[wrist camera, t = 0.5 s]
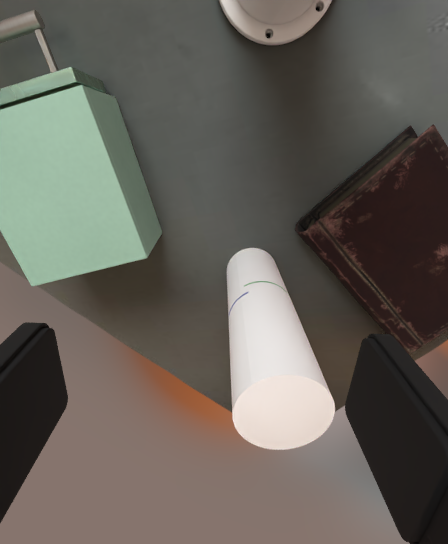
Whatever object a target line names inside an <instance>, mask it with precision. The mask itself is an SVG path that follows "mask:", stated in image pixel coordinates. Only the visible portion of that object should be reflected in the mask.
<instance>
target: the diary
mask: <svg viewBox="0 0 448 544" xmlns="http://www.w3.org/2000/svg"><path fill="white" fill-rule="evenodd" d="M295 231H296V232H297V233H298V234H299V236H300V237H301V238H302V239H303V240H304V241H305V242H306V243H307V244H308V245H309V246H310V248H311V249H312V250H313V251H314V252H315V253H316V254H317V255H318V256H319V257H320V259H321V260H322V261H323V262H324V263H325V264H326V265H327V266H328V267H329V268H330V270H331V271H332V272H333V273H334V274H335V275H336V277H337V278H338V279H339V280H340V281H341V283H342V284H343V285H344V286H345V287H346V288H347V290H348V291H349V292H350V293H351V294H352V296H353V297H354V298H355V299H356V300H357V301H358V302H359V303H360V304H361V305H362V307H363V308H364V309H365V310H366V311H367V312H368V313H369V314H370V315H371V316H372V317H373V318H374V319H375V321H376V322H377V323H378V324H379V325H380V326H381V327H382V329H383V330H384V331H385V332H386V334H389V335H392V336H393V337H394V338H395V339H396V340H397V341H398V343H399V344H400V345H401V346H402V347H403V348H404V350H405V351H406V352H407V353H412V352H414V351H415V350H417V349H418V348H420V347H421V346H422V345H424V344H426V343H428V342H429V341H431V340H432V339H434V338H436V337H437V336H439V335H441V334H442V333H444V332H446V331H447V330H448V147H447V145H446V144H445V142H444V140H443V139H442V137H441V136H440V134H439V132H438V131H437V129H436V127H435V126H434V124H433V125H432V126H431V127H430V128H428V129H427V130H426V131H425V132H424V133H422V134H421V135H420V136H419V137H418V136H417V135H416V133H415V131H414V130H413V128H412V127H411V126H409V127H408V128H407V129H406V130H405V131H404V132H402V133H401V134H400V135H399V136H398V137H397V138H395V139H394V140H393V141H392V142H391V143H390V144H388V145H387V146H386V147H385V148H384V149H383V150H381V151H380V152H379V153H378V154H377V155H376V156H374V157H373V158H372V159H371V160H370V161H369V162H367V163H366V164H365V165H364V166H363V167H362V168H360V169H359V170H358V171H357V172H356V173H355V174H353V175H352V176H351V177H350V178H349V179H348V180H346V181H345V182H344V183H343V184H342V185H341V186H339V187H338V188H337V189H336V190H335V191H334V192H332V193H331V194H330V195H329V196H328V197H327V198H325V199H324V200H323V201H322V202H321V203H320V204H318V205H317V206H316V207H315V208H314V209H313V210H311V211H310V212H309V214H307V215H306V216H304V217H303V218H302V219H301V220H300V221H299V222H298V223H297V224H296V228H295Z"/></svg>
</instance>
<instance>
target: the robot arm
mask: <svg viewBox="0 0 448 544" xmlns="http://www.w3.org/2000/svg"><path fill="white" fill-rule="evenodd" d="M331 1H332V0H219V2H220V5H221V7H222V10H223V12H224V14H225V15H226V17H227V18H228V20H229V22H230V23H231V24H232V25H233V26H234V27H235V29H236V30H237V31H238V32H239V33H241V34H242V35H243V36H245V37H246V38H248V39H250V40H252V41H254V42H256V43H259V44H264V45H282V44H285V43H289V42H292V41H294V40H296V39H298V38H300V37H302V36H303V35H304V34H306V33H307V32H308V31H309V30H311V29H312V28H313V27H314V25H315V24H316V23H317V22H318V21H319V20H320V19H321V17H322V16H323V15H324V14H325V12H326V11H327V9H328V7H329V5H330V3H331ZM316 7H319V12H318V11H316ZM267 33H268V34H270V38H267V37H266V34H267ZM67 402H68V395H67V390H66V385H65V380H64V375H63V371H62V366H61V361H60V356H59V351H58V346H57V341H56V336H55V332H54V330H53V329H52V328H49V326H48V325H47V324H46V323H23V324H22V325H21V326H19V327H18V328H17V330H15V331H14V332H13V333H12V334H11V335H10V336H9V337H8V338H7V339H6V340H5V341H4V342H3V343H2V344H1V345H0V523H1V521H2V519H3V517H4V516H5V514H6V512H7V510H8V509H9V507H10V505H11V503H12V502H13V500H14V498H15V496H16V495H17V493H18V491H19V489H20V488H21V486H22V484H23V482H24V480H25V479H26V477H27V475H28V474H29V472H30V470H31V468H32V466H33V465H34V463H35V461H36V460H37V458H38V456H39V454H40V453H41V451H42V449H43V447H44V445H45V444H46V442H47V440H48V438H49V437H50V435H51V433H52V431H53V430H54V428H55V426H56V424H57V423H58V421H59V419H60V417H61V416H62V414H63V412H64V410H65V408H66V405H67ZM345 411H346V415H347V418H348V420H349V422H350V424H351V427H352V429H353V431H354V433H355V435H356V438H357V439H358V442H359V444H360V447H361V449H362V451H363V453H364V455H365V458H366V460H367V462H368V464H369V467H370V469H371V471H372V473H373V475H374V478H375V480H376V482H377V484H378V487H379V489H380V491H381V493H382V496H383V498H384V500H385V502H386V505H387V507H388V509H389V511H390V513H391V516H392V518H393V520H394V522H395V525H396V527H397V529H398V531H399V533H400V535H401V537H402V538H403V539H404V540H405V541H406V542H409V543H410V544H448V400H447V399H446V397H445V396H444V395H443V394H442V393H441V391H440V390H439V389H438V388H437V387H436V386H435V385H434V383H433V382H432V381H431V380H430V379H429V377H428V376H427V375H426V374H425V373H424V372H423V371H422V369H421V368H420V367H419V366H418V365H417V364H416V363H415V361H414V360H413V359H412V358H411V357H410V355H409V354H408V353H407V352H406V351H405V350H404V348H403V347H402V346H401V345H400V344H399V343H398V341H397V340H396V339H395V338H394V337H393V336H392V335H389V334H370V335H369V336H368V338H365V339H363V341H362V343H361V347H360V351H359V355H358V358H357V362H356V366H355V370H354V373H353V377H352V381H351V385H350V388H349V392H348V396H347V400H346V404H345Z"/></svg>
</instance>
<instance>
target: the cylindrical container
mask: <svg viewBox="0 0 448 544" xmlns="http://www.w3.org/2000/svg"><path fill="white" fill-rule="evenodd" d="M227 292H228V316H229V341H230V367H231V390H232V414H233V422H234V426H235V428H236V430H237V431H238V433H239V434H240V435H241V436H242V437H243V438H244V439H245V440H247V441H248V442H250V443H252V444H254V445H256V446H259V447H262V448H266V449H274V450H286V449H292V448H297V447H300V446H304V445H306V444H308V443H310V442H312V441H314V440H315V439H317V438H319V437H320V436H321V435H322V434H323V433H324V432H325V431H326V430H327V429H328V427H329V426H330V425H331V423H332V420H333V418H334V413H335V405H334V400H333V398H332V396H331V393H330V391H329V389H328V386H327V384H326V381H325V379H324V377H323V374H322V372H321V370H320V367H319V365H318V363H317V360H316V358H315V355H314V353H313V351H312V348H311V346H310V344H309V341H308V339H307V336H306V334H305V332H304V329H303V327H302V325H301V322H300V320H299V318H298V315H297V313H296V310H295V308H294V306H293V303H292V301H291V299H290V296H289V294H288V292H287V289H286V287H285V284H284V282H283V280H282V277H281V275H280V273H279V270H278V268H277V266H276V263H275V261H274V259H273V258H272V256H271V255H270V254H269V253H267V252H266V251H264V250H261V249H258V248H247V249H243V250H241V251H239V252H238V253H236V254H235V255H234V256H233V257H232V258H231V259H230V261H229V263H228V266H227Z"/></svg>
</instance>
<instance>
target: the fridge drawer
mask: <svg viewBox="0 0 448 544" xmlns="http://www.w3.org/2000/svg"><path fill="white" fill-rule="evenodd" d="M44 28H45V25H44V22H43V20H42V18H41V16H40V14H39V13H38V12H37V11H36V10H32V11H29V12H26V13H23V14H20V15H17V16H14V17H11V18H8V19H5V20H2V21H0V43H3V42H6V41H9V40H12V39H15V38H18V37H21V36H24V35H27V34H30V33H33V32H35V34H36V37H37V39H38V41H39V44H40V46H41V49H42V51H43V54H44V56H45V59H46V61H47V64H48V66H49V68H50V71H51V73H50V74H46V75H43V76H40V77H37V78H34V79H30V80H27V81H24V82H21V83H18V84H14V85H11V86H8V87H5V88H2V89H0V110H1V109H5V108H8V107H11V106H15V105H18V104H21V103H24V102H28V101H31V100H34V99H37V98H41V97H44V96H47V95H50V94H54V93H57V92H60V91H63V90H67V89H70V88H73V87H77V86H80V85H83V86H86V87H88V88H91V89H94V90H97V91H99V92H102V93H106V91H105V88H104V85H103V82H102V81H101V80H99V79H97V78H94V77H92V76H90V75H88V74H86V73H83V72H81V71H79V70H77V69H75V68H72V67H69V68H66V69H62V70H58V67H57V65H56V62H55V60H54V57H53V55H52V52H51V50H50V47H49V45H48V42H47V40H46V37H45V35H44V32H43V30H42V29H44Z"/></svg>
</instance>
